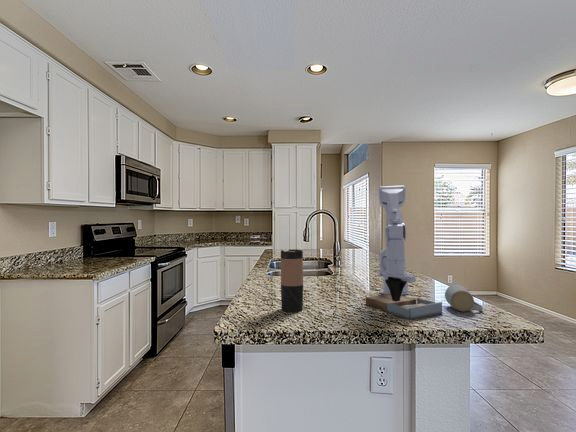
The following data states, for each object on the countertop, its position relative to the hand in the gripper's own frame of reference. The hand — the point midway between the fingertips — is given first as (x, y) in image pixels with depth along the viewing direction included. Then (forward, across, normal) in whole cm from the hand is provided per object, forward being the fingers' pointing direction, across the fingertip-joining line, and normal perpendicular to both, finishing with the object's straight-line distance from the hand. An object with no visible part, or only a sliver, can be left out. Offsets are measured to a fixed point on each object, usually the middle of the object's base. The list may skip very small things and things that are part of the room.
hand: (396, 300), depth 109 cm
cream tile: (+1, +5, 0) cm, 5 cm away
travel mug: (+3, -18, -30) cm, 35 cm away
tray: (+3, +5, +3) cm, 7 cm away
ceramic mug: (+3, +10, +21) cm, 23 cm away
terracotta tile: (+2, +6, +6) cm, 8 cm away
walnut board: (+3, -6, +3) cm, 7 cm away
